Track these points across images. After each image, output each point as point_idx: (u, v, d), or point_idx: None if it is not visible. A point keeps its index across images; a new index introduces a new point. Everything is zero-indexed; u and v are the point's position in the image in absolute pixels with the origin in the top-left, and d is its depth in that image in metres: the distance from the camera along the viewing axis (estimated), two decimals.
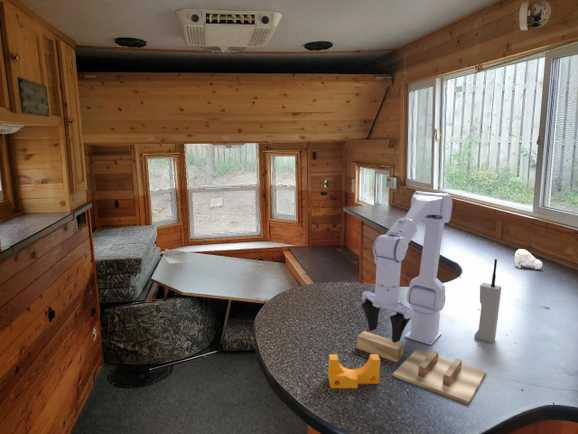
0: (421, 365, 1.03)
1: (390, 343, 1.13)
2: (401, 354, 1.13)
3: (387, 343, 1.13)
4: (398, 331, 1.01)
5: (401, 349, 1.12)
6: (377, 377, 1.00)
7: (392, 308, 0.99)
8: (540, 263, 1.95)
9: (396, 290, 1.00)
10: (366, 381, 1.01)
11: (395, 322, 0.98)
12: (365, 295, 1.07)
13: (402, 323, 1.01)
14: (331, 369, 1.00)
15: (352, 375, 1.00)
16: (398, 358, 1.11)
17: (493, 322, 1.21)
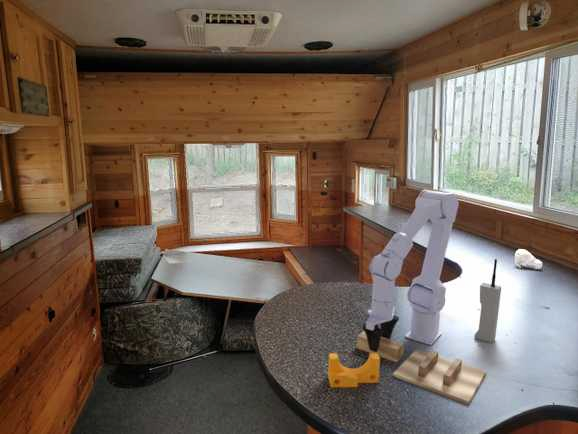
0: (421, 365, 1.03)
1: (390, 343, 1.13)
2: (401, 354, 1.13)
3: (387, 343, 1.13)
4: (373, 341, 1.12)
5: (401, 349, 1.12)
6: (377, 376, 1.01)
7: (369, 317, 1.12)
8: (540, 263, 1.95)
9: (378, 304, 1.11)
10: (366, 380, 1.01)
11: None
12: None
13: None
14: (331, 368, 1.00)
15: (352, 374, 1.00)
16: (398, 358, 1.11)
17: (493, 322, 1.21)
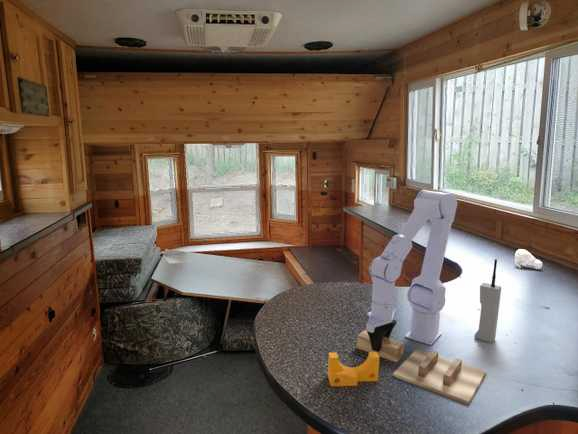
0: (421, 365, 1.03)
1: (390, 342, 1.13)
2: (401, 353, 1.13)
3: (387, 342, 1.13)
4: (375, 341, 1.13)
5: (401, 348, 1.12)
6: (376, 374, 1.02)
7: (369, 319, 1.12)
8: (540, 263, 1.95)
9: (377, 306, 1.11)
10: (365, 378, 1.02)
11: None
12: None
13: (379, 336, 1.12)
14: (331, 367, 1.00)
15: (352, 373, 1.01)
16: (398, 357, 1.11)
17: (493, 322, 1.21)
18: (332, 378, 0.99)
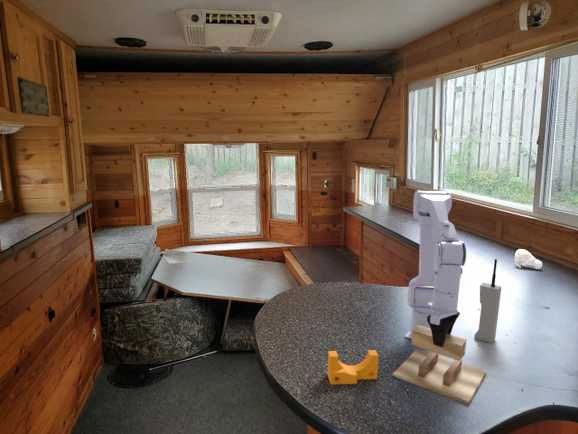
0: (421, 365, 1.03)
1: (452, 338, 1.02)
2: (464, 351, 1.01)
3: (448, 338, 1.02)
4: (438, 335, 1.01)
5: (464, 346, 1.01)
6: (376, 372, 1.02)
7: (431, 310, 1.00)
8: (540, 263, 1.95)
9: (442, 296, 0.99)
10: (365, 376, 1.02)
11: None
12: None
13: (443, 329, 1.00)
14: (331, 365, 1.01)
15: (351, 371, 1.01)
16: (461, 355, 1.00)
17: (493, 322, 1.21)
18: (332, 376, 1.00)
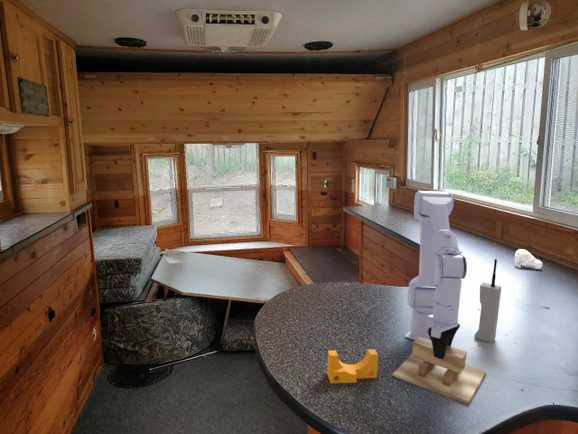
0: (421, 365, 1.03)
1: (452, 351, 1.02)
2: (464, 363, 1.02)
3: (448, 351, 1.02)
4: (439, 348, 1.01)
5: (465, 358, 1.01)
6: (375, 371, 1.03)
7: (432, 323, 1.01)
8: (540, 263, 1.95)
9: (442, 309, 0.99)
10: (364, 375, 1.03)
11: None
12: None
13: (444, 342, 1.00)
14: (330, 365, 1.01)
15: (351, 370, 1.02)
16: (462, 368, 1.00)
17: (493, 322, 1.21)
18: (332, 375, 1.00)
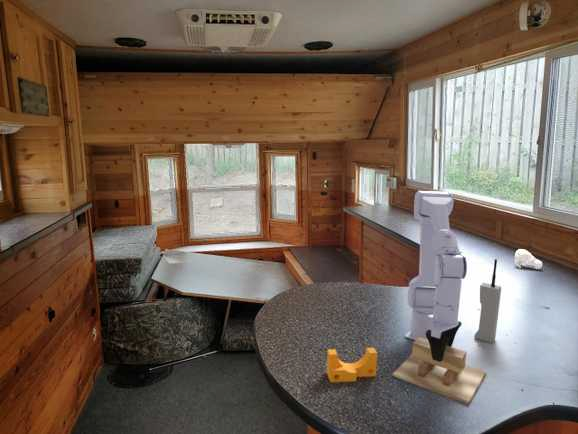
0: (421, 365, 1.03)
1: (452, 351, 1.02)
2: (464, 363, 1.02)
3: (448, 351, 1.02)
4: (437, 350, 1.00)
5: (464, 358, 1.01)
6: (374, 370, 1.04)
7: (432, 323, 1.01)
8: (540, 263, 1.95)
9: (442, 309, 0.99)
10: (364, 374, 1.04)
11: None
12: None
13: (442, 344, 0.99)
14: (330, 364, 1.02)
15: (350, 369, 1.03)
16: (462, 368, 1.00)
17: (493, 322, 1.21)
18: (332, 374, 1.01)
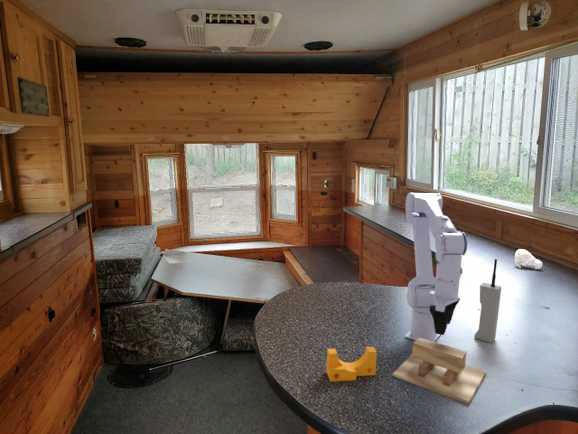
0: (421, 365, 1.03)
1: (452, 351, 1.02)
2: (464, 363, 1.02)
3: (448, 351, 1.02)
4: (440, 324, 1.05)
5: (464, 358, 1.01)
6: (374, 369, 1.04)
7: (435, 298, 1.05)
8: (540, 263, 1.95)
9: (445, 284, 1.04)
10: (363, 373, 1.04)
11: None
12: None
13: (445, 318, 1.04)
14: (330, 363, 1.02)
15: (350, 368, 1.03)
16: (462, 368, 1.00)
17: (493, 322, 1.21)
18: (331, 373, 1.01)
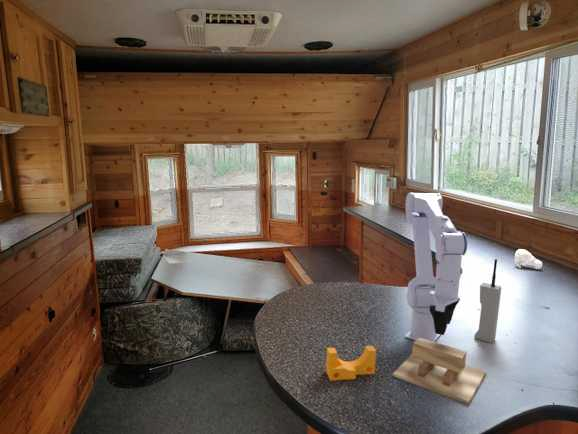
0: (421, 365, 1.03)
1: (452, 351, 1.02)
2: (464, 363, 1.02)
3: (448, 351, 1.02)
4: (440, 324, 1.05)
5: (464, 358, 1.01)
6: (373, 367, 1.05)
7: (435, 298, 1.05)
8: (540, 263, 1.95)
9: (445, 284, 1.04)
10: (363, 372, 1.05)
11: None
12: None
13: (445, 318, 1.04)
14: (330, 362, 1.03)
15: (350, 367, 1.03)
16: (462, 368, 1.00)
17: (493, 322, 1.21)
18: (331, 373, 1.01)
